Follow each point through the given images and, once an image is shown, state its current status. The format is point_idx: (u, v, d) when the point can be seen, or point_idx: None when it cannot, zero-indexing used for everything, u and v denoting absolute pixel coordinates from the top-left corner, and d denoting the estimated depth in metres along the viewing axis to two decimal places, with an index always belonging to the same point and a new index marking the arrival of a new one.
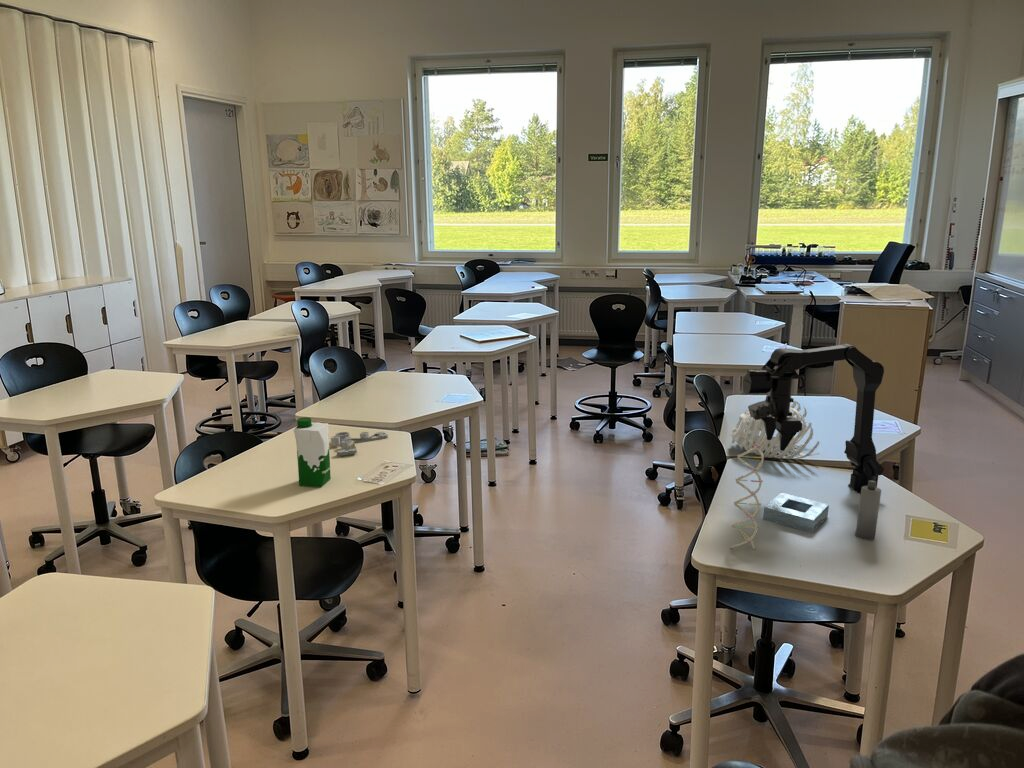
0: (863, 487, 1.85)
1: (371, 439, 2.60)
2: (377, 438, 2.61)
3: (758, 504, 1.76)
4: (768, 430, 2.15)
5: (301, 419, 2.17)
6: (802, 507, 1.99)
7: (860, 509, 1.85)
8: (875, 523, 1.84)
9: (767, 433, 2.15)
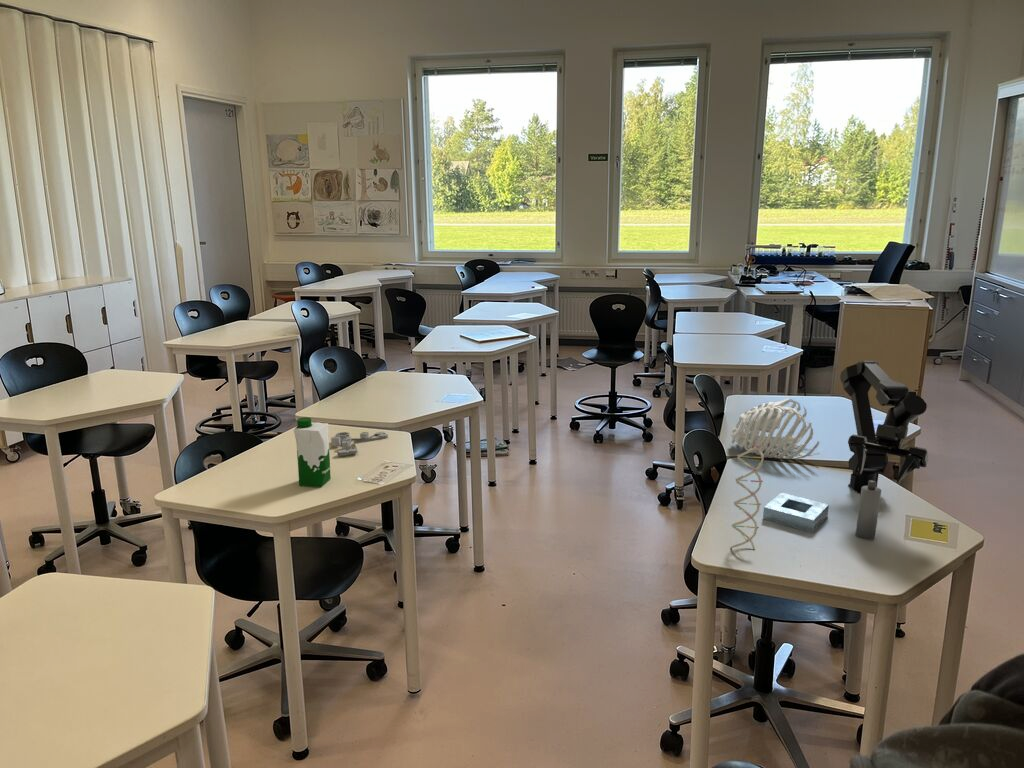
0: (863, 487, 1.85)
1: (371, 439, 2.60)
2: (377, 438, 2.61)
3: (758, 504, 1.76)
4: (861, 463, 1.94)
5: (301, 419, 2.17)
6: (802, 507, 1.99)
7: (860, 509, 1.85)
8: (875, 523, 1.84)
9: (861, 465, 1.93)
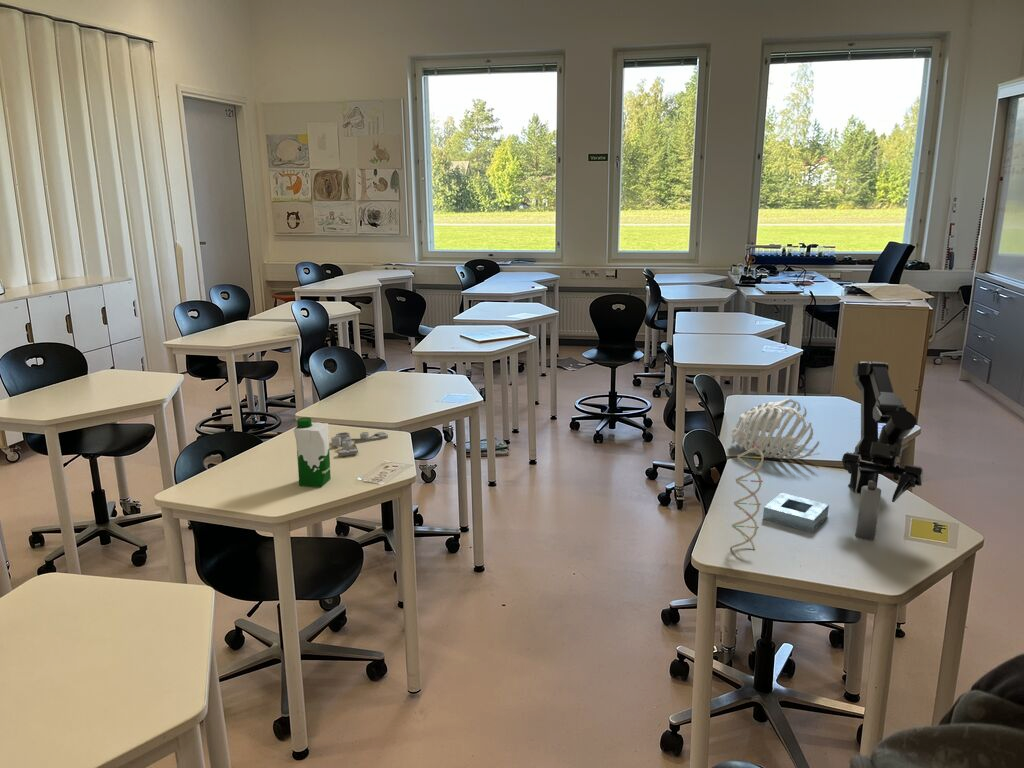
0: (863, 487, 1.85)
1: (371, 439, 2.60)
2: (377, 438, 2.61)
3: (758, 504, 1.76)
4: None
5: (301, 419, 2.17)
6: (802, 507, 1.99)
7: (860, 509, 1.85)
8: (875, 523, 1.84)
9: (855, 484, 1.90)
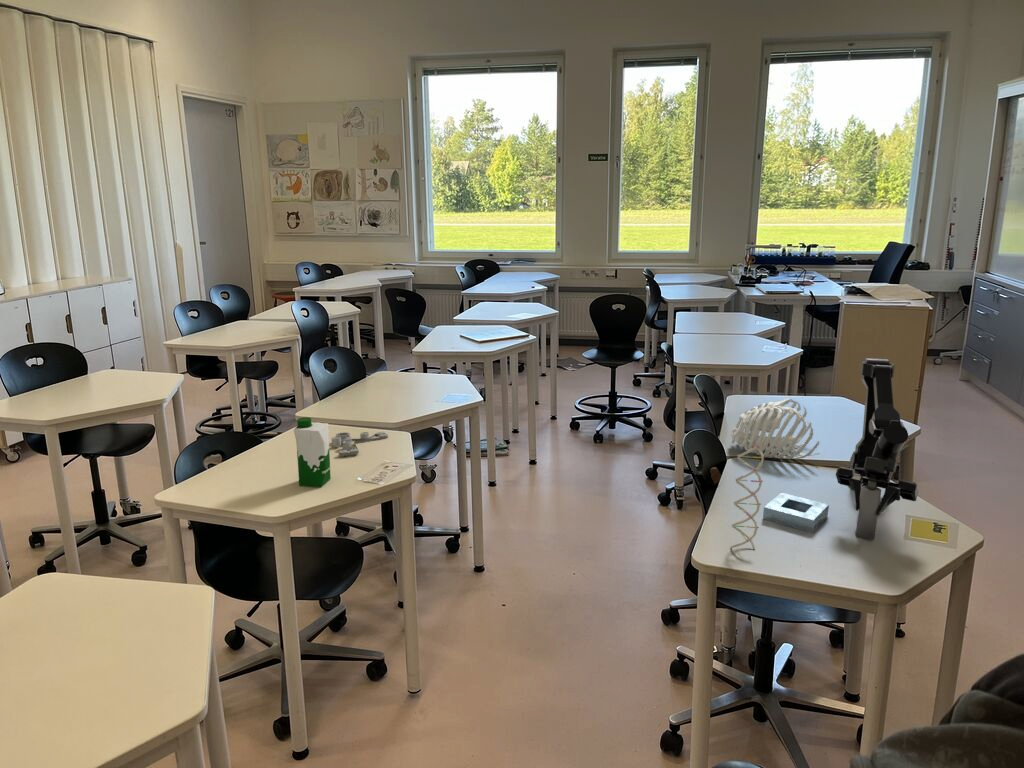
0: (863, 487, 1.85)
1: (371, 439, 2.60)
2: (377, 438, 2.61)
3: (758, 504, 1.76)
4: None
5: (301, 419, 2.17)
6: (802, 507, 1.99)
7: (860, 509, 1.85)
8: (875, 523, 1.84)
9: (858, 501, 1.86)
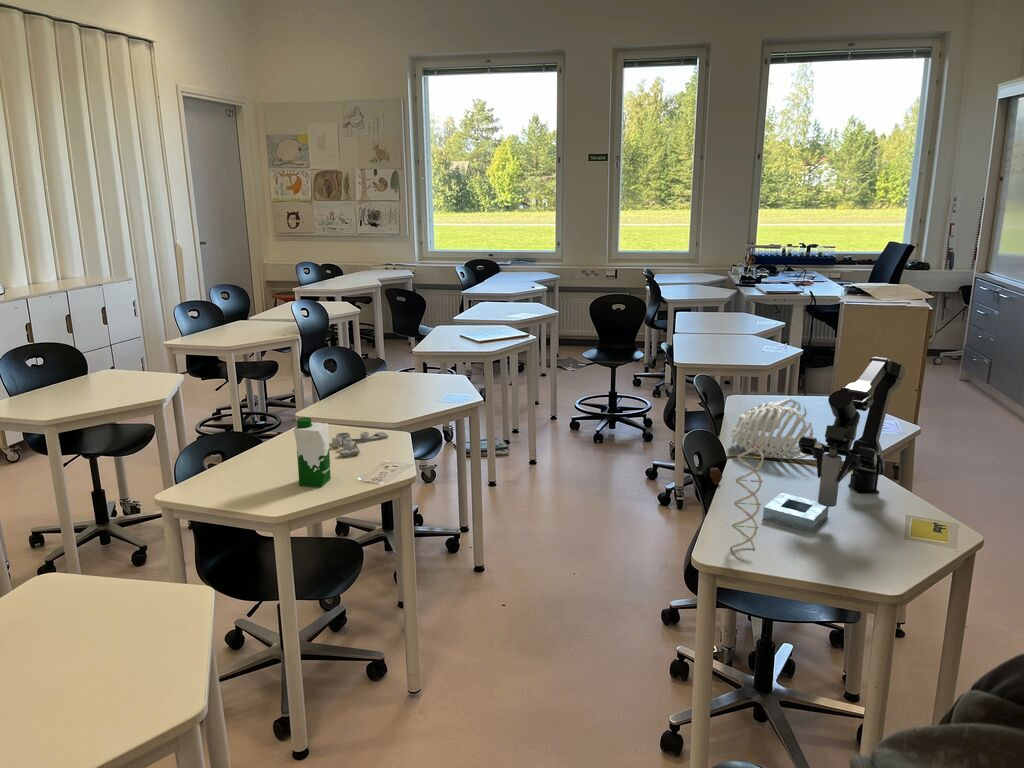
0: (824, 455, 1.89)
1: (372, 439, 2.60)
2: (378, 438, 2.61)
3: (758, 504, 1.76)
4: (820, 466, 1.91)
5: (301, 419, 2.17)
6: (802, 507, 1.99)
7: (822, 476, 1.89)
8: (836, 490, 1.89)
9: (820, 469, 1.91)
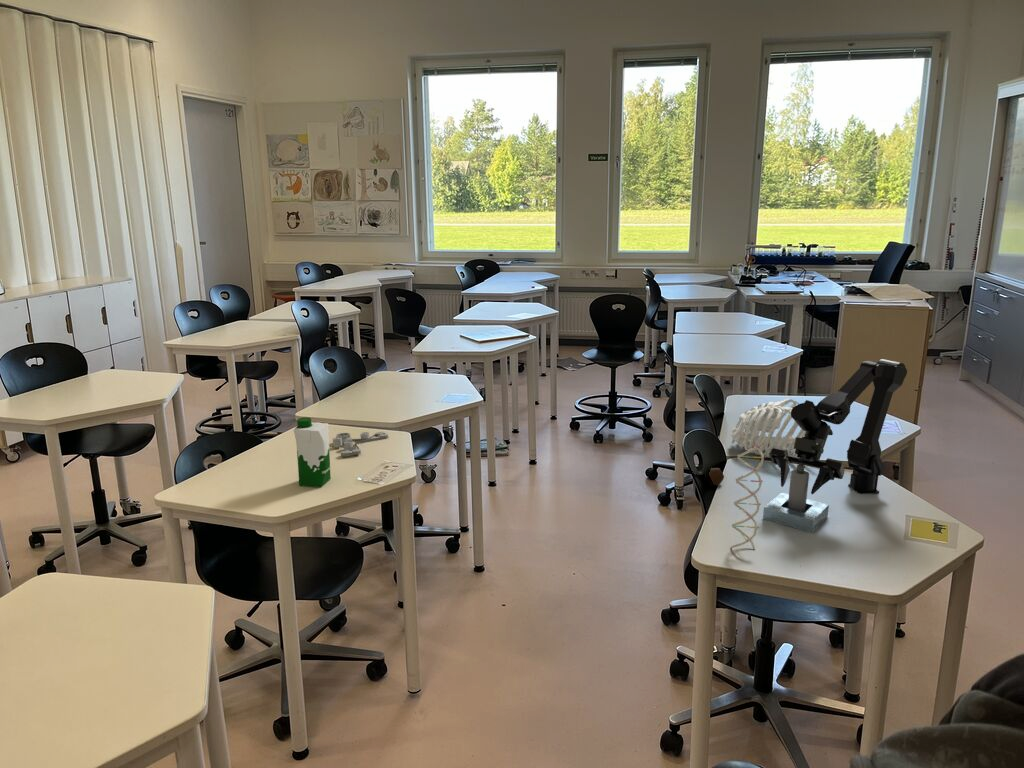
0: (793, 471, 1.96)
1: (372, 439, 2.59)
2: (378, 438, 2.61)
3: (758, 504, 1.76)
4: None
5: (301, 419, 2.17)
6: None
7: (790, 492, 1.96)
8: (804, 505, 1.95)
9: (783, 478, 1.97)
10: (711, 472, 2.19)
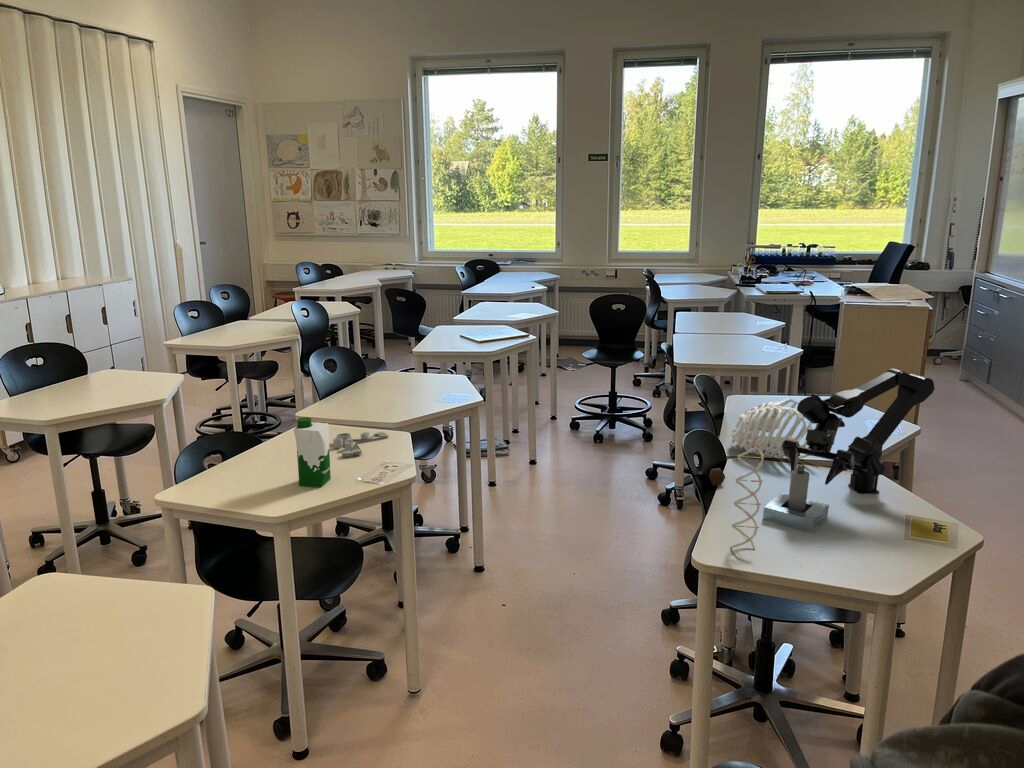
0: (793, 471, 1.96)
1: (372, 439, 2.59)
2: (378, 438, 2.61)
3: (758, 504, 1.76)
4: (794, 466, 2.05)
5: (301, 419, 2.17)
6: None
7: (790, 492, 1.96)
8: (804, 505, 1.95)
9: (793, 468, 2.05)
10: (712, 472, 2.19)
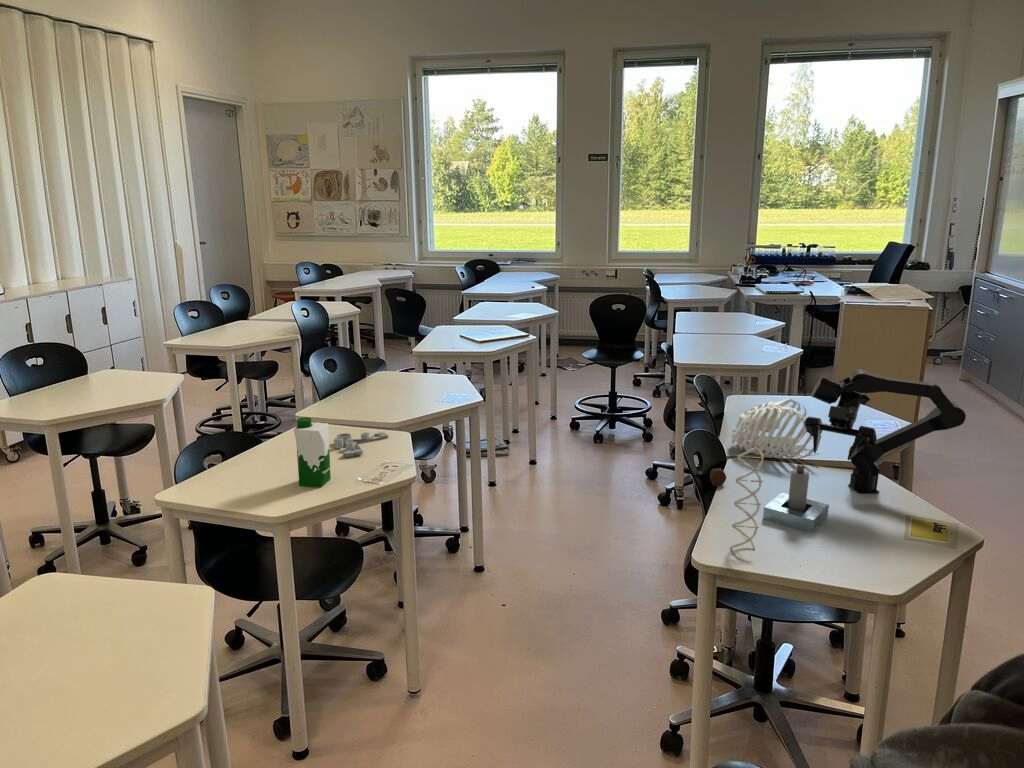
0: (793, 471, 1.96)
1: (373, 440, 2.59)
2: (378, 438, 2.60)
3: (758, 504, 1.76)
4: (816, 442, 2.10)
5: (301, 419, 2.17)
6: None
7: (790, 492, 1.96)
8: (804, 505, 1.95)
9: (816, 444, 2.09)
10: (714, 473, 2.19)
